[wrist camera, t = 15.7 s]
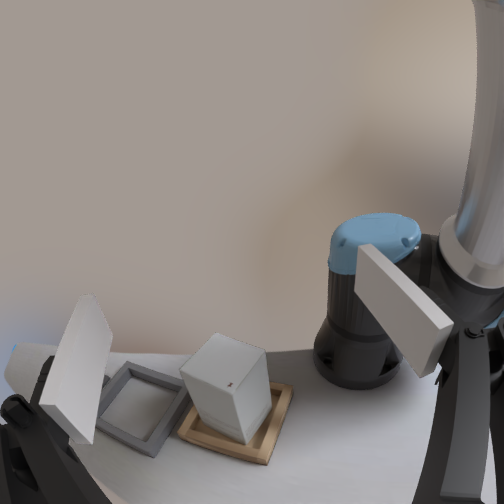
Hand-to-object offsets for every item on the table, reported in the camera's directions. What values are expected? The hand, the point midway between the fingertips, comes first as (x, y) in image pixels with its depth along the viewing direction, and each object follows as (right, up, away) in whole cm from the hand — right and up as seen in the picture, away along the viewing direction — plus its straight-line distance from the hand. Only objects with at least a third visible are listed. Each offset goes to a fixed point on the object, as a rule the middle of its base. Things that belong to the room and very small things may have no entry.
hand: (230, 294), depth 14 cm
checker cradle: (-16, -22, +26) cm, 38 cm away
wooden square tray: (-1, -21, +24) cm, 32 cm away
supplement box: (-1, -21, +24) cm, 32 cm away
